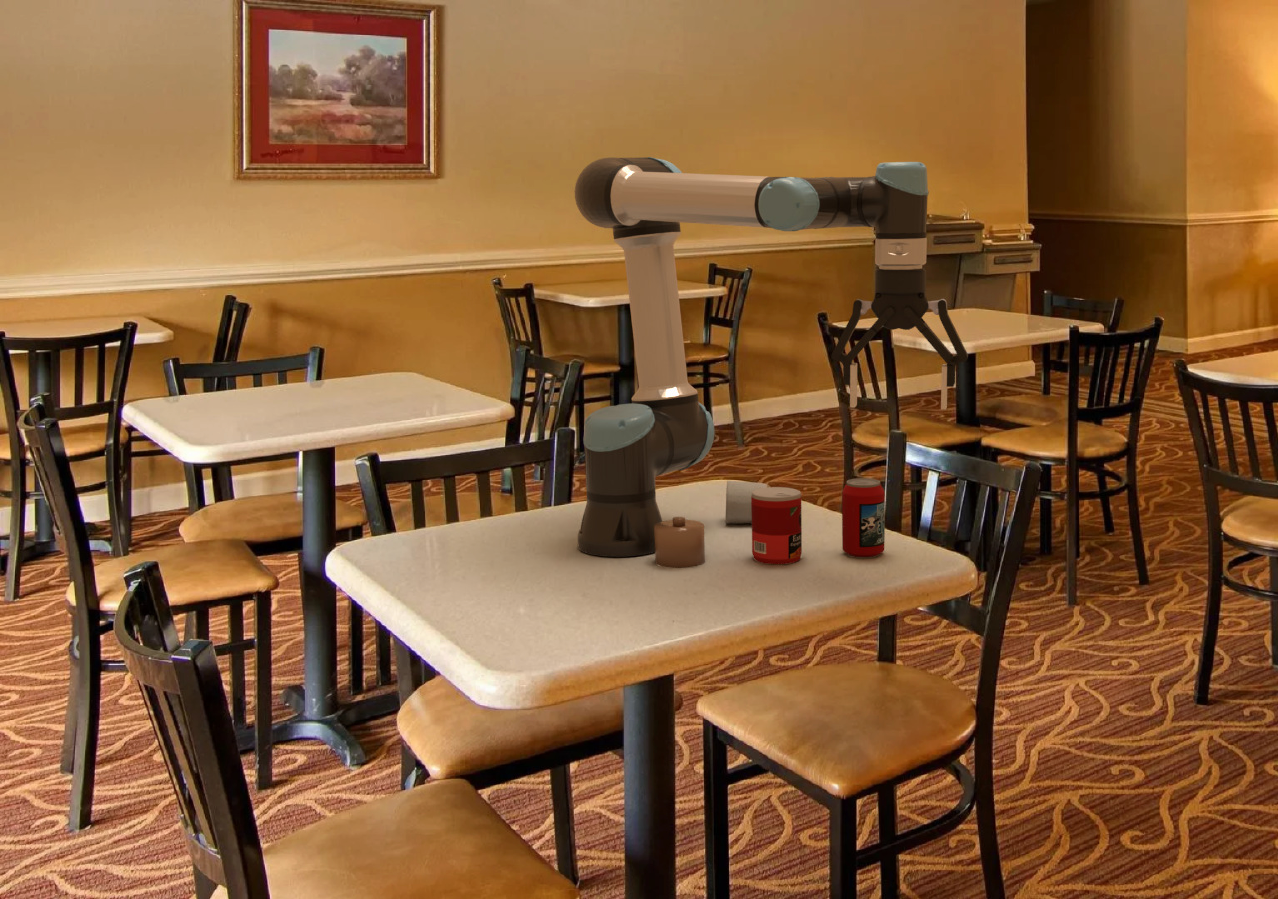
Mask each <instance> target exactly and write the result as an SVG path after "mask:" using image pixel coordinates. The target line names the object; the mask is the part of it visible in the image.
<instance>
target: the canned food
mask: <svg viewBox="0 0 1278 899" xmlns="http://www.w3.org/2000/svg"><path fill="white" fill-rule="evenodd" d="M801 492H802V491H800V490H798V489H795V488H792V487H783V486H782V487H781V486H774V487H773V486H772V487H771V486H770V487H769V488H761V489H756V490H754V491H752V495H751V515H752V523H751V552H752V553H751V554H752V557H753V560H755V561H756V562H758V563H761V564H766V565H788V564H794V563H797V562H798V561H800V560H801V557H802V553H803V552H802V550H803V549H802V548H803V547H802V546H803V545H802V544H803V543H802V542H803V541H802V539H803V538H802V537H803V536H802V532H803V531H802V529H803V528H802V522H803V521H802V520H803V519H802V493H801Z"/></svg>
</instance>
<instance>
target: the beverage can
mask: <svg viewBox="0 0 1278 899" xmlns="http://www.w3.org/2000/svg"><path fill="white" fill-rule="evenodd" d="M841 494H842V495H841V502H842V503H841V515H842V516H841V530H842V532H841V534H842V535H841V536H842V537H841V539H842V541H841V542H842V547H841V548H842V551H843V552H844V553H845V554H847V555H848V556H849V557H853V558H856V559H857V558H858V559H871V558H875V557H878V556H879V555H881V554H882V553H883V552H885V539H886V538H885V535H886V533H885V530H886V528H885V525H886V524H885V523H886V521H885V518H886V517H885V516H886V512H885V511H886V510H885V509H886V501H885V497H886V496H885V494H886V493H885V490H884V488H883V485H882V484H881V481H880V480H878V479H875V478H867V477H865V478H863V477H861V478H860V477H859V478H852V479H848V480H846V484H845V486H844V488H843V489H842V491H841Z"/></svg>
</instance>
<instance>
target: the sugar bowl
mask: <svg viewBox="0 0 1278 899" xmlns="http://www.w3.org/2000/svg"><path fill="white" fill-rule="evenodd" d="M662 521H663V520H662ZM654 534H655V552H654V560H655V561H654V562H655V564H656V565H657V566H660V567H663V568H669V569H688V568H694V567H698V566H702V565H703V564H704V563H705V560H706V555H705V554H706V552H705V549H706V548H705V524H704V523H703V522H702V521H699V520H698V521H697V520H693V519H686V517H684V516H675V517H673V518H672V519H670V520H664V521H663V522H659V523H657V524H655V525H654Z"/></svg>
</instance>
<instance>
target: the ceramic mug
mask: <svg viewBox="0 0 1278 899" xmlns="http://www.w3.org/2000/svg"><path fill="white" fill-rule="evenodd" d="M769 487H771V485H769V484H767V483H763V482H751V481H750V482H749V481H739V480H738V481H736V480H727V482H726V488H725V489H726V491H725V492H726V493H725V523H726V524H727V525H731V524H734V525H735V524H752V515H751V495H752V491H754V490H756V489H761V488H769Z"/></svg>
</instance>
